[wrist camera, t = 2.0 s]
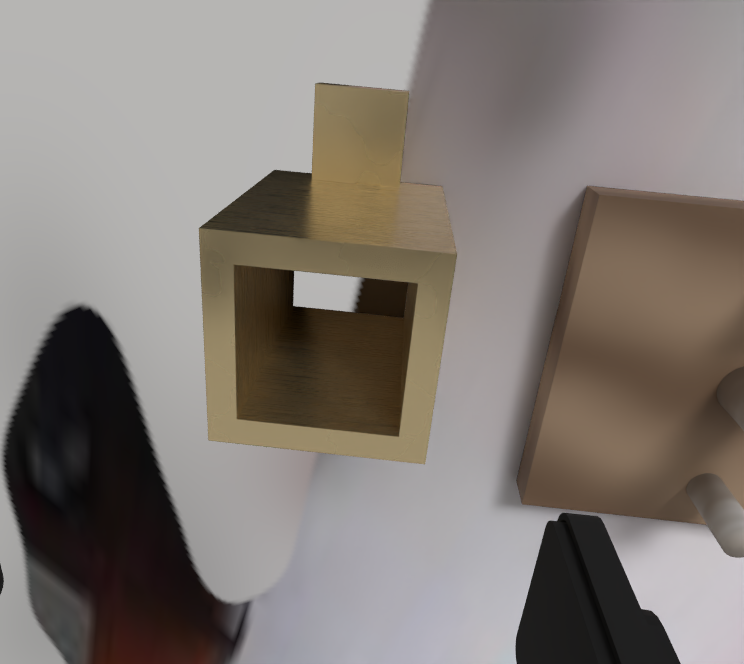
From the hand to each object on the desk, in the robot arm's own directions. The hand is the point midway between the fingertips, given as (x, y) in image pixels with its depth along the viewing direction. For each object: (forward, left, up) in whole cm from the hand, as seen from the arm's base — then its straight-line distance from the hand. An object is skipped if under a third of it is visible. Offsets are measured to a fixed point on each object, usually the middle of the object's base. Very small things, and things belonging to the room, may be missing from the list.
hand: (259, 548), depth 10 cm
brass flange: (-1, 0, -14) cm, 14 cm away
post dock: (+2, +15, -14) cm, 21 cm away
